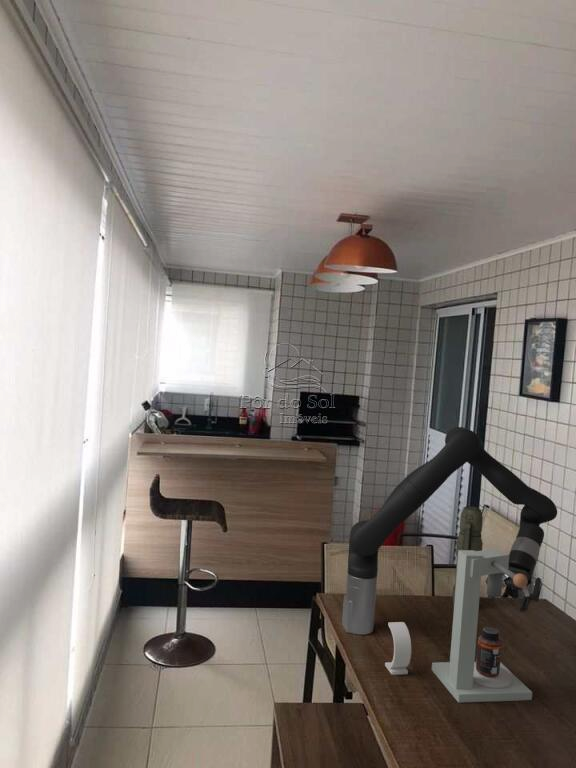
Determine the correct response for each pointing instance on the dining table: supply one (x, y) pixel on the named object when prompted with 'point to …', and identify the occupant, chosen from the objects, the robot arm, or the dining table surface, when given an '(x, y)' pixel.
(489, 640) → the supplement bottle
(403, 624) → the headphone stand
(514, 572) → the robot arm
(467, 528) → the thermos
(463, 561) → the press
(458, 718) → the dining table surface
